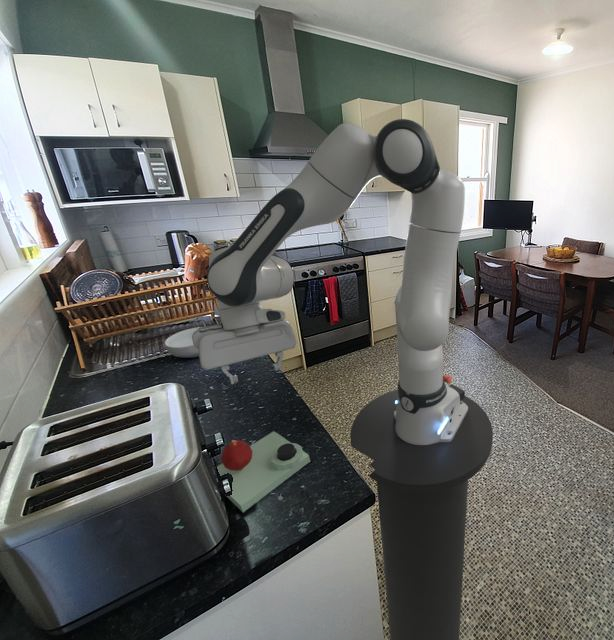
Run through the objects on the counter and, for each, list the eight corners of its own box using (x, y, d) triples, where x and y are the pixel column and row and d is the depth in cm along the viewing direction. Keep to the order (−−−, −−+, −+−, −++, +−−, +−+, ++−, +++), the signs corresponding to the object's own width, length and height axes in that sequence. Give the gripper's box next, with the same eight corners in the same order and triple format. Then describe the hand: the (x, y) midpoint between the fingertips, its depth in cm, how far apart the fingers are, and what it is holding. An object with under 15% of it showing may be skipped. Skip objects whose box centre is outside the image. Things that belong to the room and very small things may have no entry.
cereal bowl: (190, 342, 136) (185, 325, 134) (232, 342, 136) (227, 326, 133) (158, 364, 121) (152, 346, 118) (204, 365, 120) (199, 347, 117)
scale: (275, 436, 87) (272, 425, 86) (311, 461, 80) (308, 450, 78) (209, 479, 75) (204, 467, 74) (243, 513, 68) (239, 500, 66)
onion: (223, 467, 76) (214, 439, 73) (250, 454, 80) (243, 426, 76) (230, 484, 72) (220, 454, 69) (259, 469, 76) (251, 440, 72)
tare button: (289, 446, 80) (288, 441, 79) (298, 453, 78) (297, 447, 77) (275, 456, 77) (273, 450, 77) (284, 463, 75) (283, 457, 75)
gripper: (190, 329, 71) (206, 393, 72) (291, 310, 83) (303, 366, 84) (189, 329, 76) (204, 389, 77) (284, 311, 88) (296, 363, 89)
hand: (257, 377), depth 81 cm, fingers open, 8 cm apart
